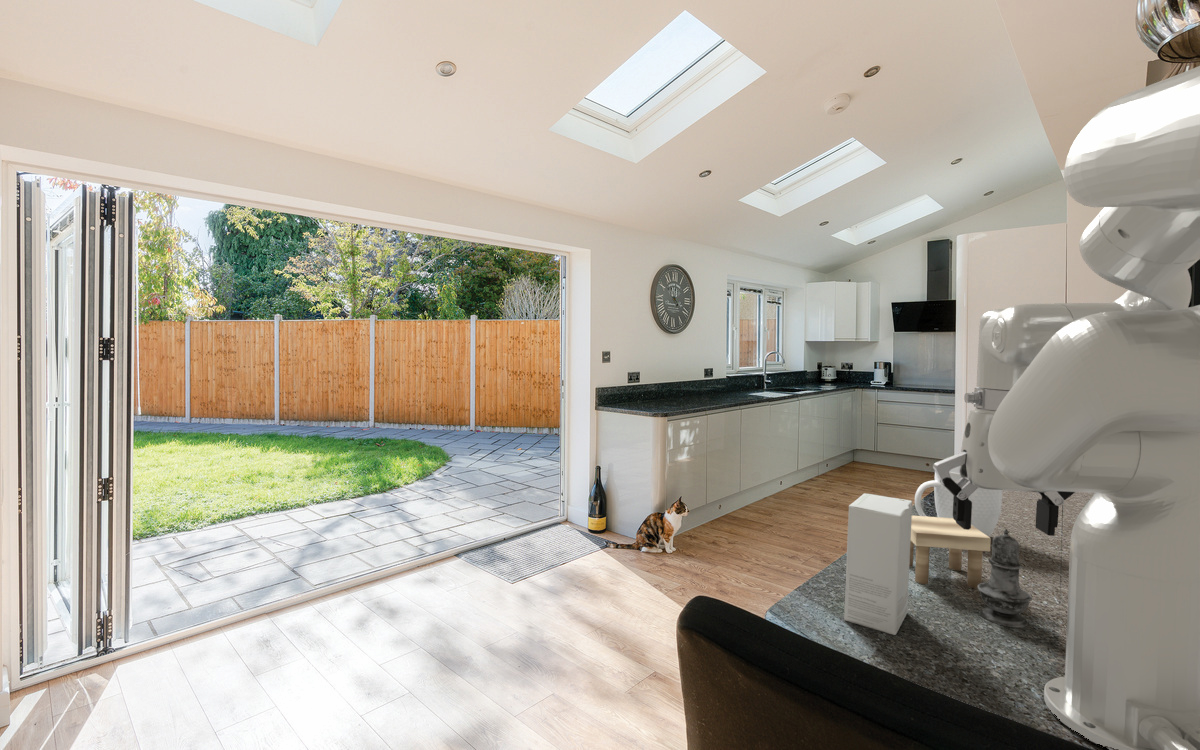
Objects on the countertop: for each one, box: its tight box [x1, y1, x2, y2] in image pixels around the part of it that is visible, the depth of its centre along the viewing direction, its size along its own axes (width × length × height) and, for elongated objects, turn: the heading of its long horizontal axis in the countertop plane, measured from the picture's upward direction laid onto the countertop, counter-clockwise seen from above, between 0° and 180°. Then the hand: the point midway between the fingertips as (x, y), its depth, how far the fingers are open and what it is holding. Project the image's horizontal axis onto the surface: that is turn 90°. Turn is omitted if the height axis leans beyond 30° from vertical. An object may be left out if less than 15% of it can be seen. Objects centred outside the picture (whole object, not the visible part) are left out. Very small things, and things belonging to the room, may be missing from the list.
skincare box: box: [843, 493, 913, 636], centre depth 73 cm, size 8×7×16 cm
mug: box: [914, 466, 1003, 537], centre depth 108 cm, size 15×11×13 cm
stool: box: [909, 515, 992, 590], centre depth 88 cm, size 10×10×8 cm
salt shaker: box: [977, 528, 1033, 629], centre depth 73 cm, size 6×6×12 cm
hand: (1003, 529), depth 74 cm, fingers open, 9 cm apart
